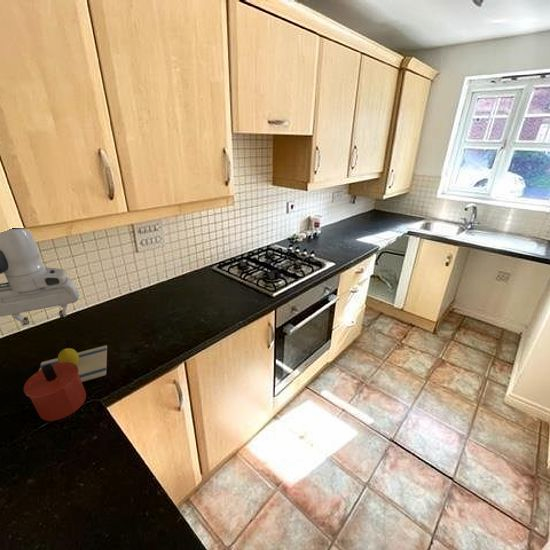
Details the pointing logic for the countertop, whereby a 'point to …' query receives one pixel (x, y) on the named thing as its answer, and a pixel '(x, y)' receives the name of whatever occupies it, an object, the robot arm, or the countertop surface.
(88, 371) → the towel
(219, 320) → the countertop surface
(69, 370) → the pot lid
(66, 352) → the lemon
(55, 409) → the pot
